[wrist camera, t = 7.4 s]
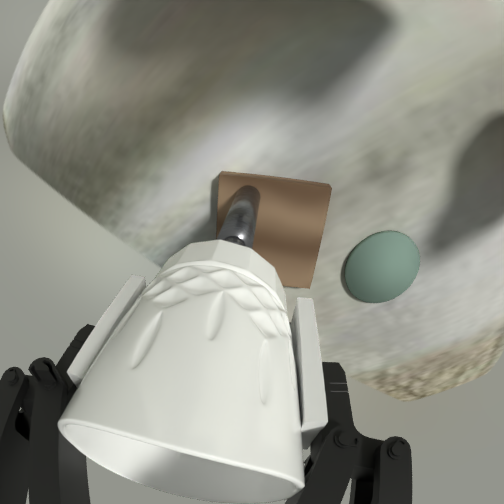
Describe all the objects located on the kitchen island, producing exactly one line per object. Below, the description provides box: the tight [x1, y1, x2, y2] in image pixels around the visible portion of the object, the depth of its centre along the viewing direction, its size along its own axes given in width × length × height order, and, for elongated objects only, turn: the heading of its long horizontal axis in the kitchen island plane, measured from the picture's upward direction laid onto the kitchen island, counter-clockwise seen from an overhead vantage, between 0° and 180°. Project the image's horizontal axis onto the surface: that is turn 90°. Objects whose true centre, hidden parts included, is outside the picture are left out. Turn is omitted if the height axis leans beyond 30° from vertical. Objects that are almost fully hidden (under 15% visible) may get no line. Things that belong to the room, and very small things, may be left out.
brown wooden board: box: [216, 171, 332, 289], centre depth 30 cm, size 12×11×2 cm
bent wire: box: [216, 185, 291, 325], centre depth 24 cm, size 9×7×11 cm
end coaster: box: [345, 231, 420, 303], centre depth 31 cm, size 10×10×1 cm
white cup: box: [57, 240, 305, 504], centre depth 10 cm, size 8×8×10 cm
